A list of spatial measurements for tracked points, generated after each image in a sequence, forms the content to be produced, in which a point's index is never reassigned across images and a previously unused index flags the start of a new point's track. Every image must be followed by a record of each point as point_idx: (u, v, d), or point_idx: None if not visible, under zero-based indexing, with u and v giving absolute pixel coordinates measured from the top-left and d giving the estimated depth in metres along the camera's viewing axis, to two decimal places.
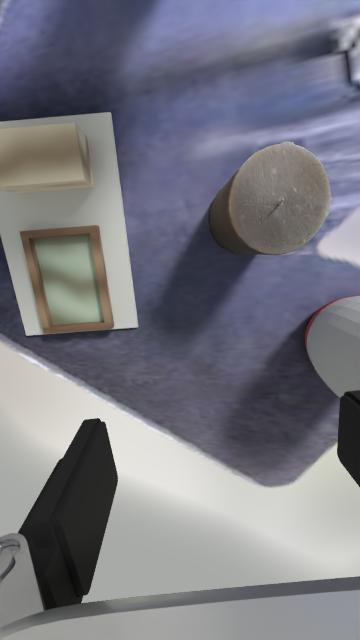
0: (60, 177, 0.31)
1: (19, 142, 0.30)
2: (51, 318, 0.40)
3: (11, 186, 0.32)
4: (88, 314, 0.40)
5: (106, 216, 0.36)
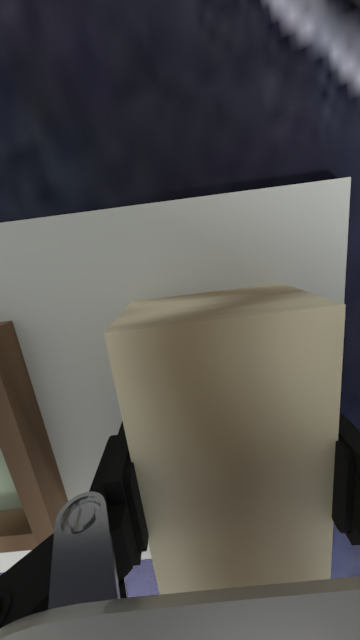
0: (166, 560, 0.09)
1: (286, 450, 0.07)
2: None
3: None
4: None
5: None
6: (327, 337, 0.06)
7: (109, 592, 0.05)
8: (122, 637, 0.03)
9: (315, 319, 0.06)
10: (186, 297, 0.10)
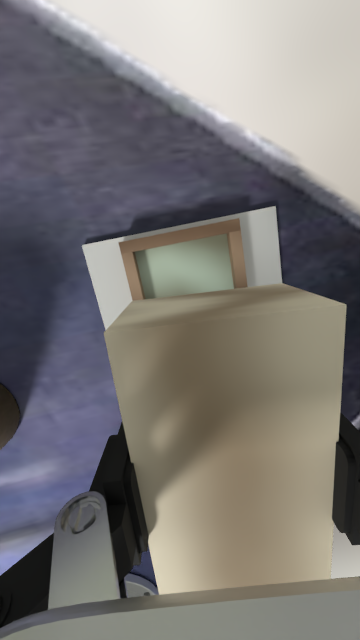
0: (166, 560, 0.09)
1: (286, 450, 0.07)
2: (228, 244, 0.24)
3: None
4: (165, 259, 0.24)
5: None
6: (328, 337, 0.06)
7: (109, 592, 0.05)
8: (122, 637, 0.03)
9: (316, 319, 0.06)
10: (186, 297, 0.10)
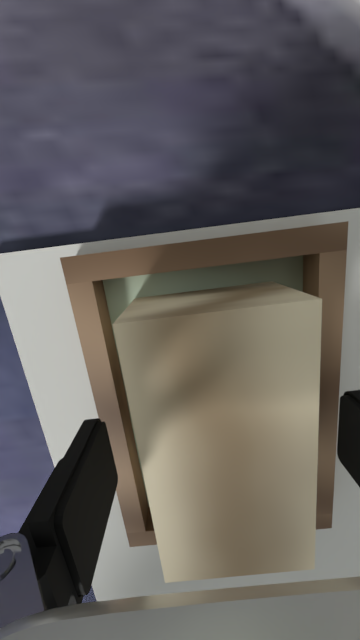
0: (167, 530, 0.10)
1: (273, 428, 0.08)
2: (302, 276, 0.11)
3: None
4: None
5: (117, 534, 0.15)
6: (307, 327, 0.07)
7: None
8: (122, 637, 0.03)
9: (296, 311, 0.07)
10: (184, 294, 0.11)
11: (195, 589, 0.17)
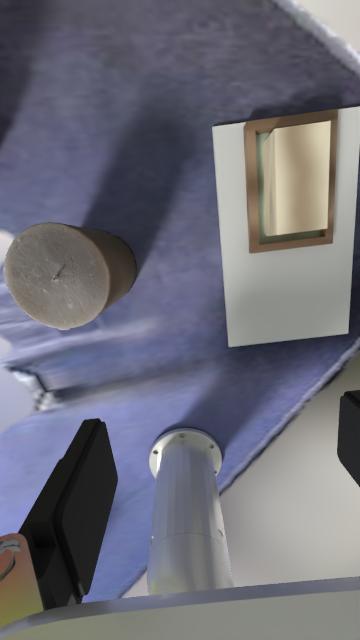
0: (280, 209, 0.30)
1: (315, 165, 0.29)
2: None
3: (274, 148, 0.28)
4: None
5: (240, 263, 0.35)
6: (326, 130, 0.28)
7: None
8: (122, 637, 0.03)
9: (323, 125, 0.27)
10: None
11: (271, 297, 0.37)
